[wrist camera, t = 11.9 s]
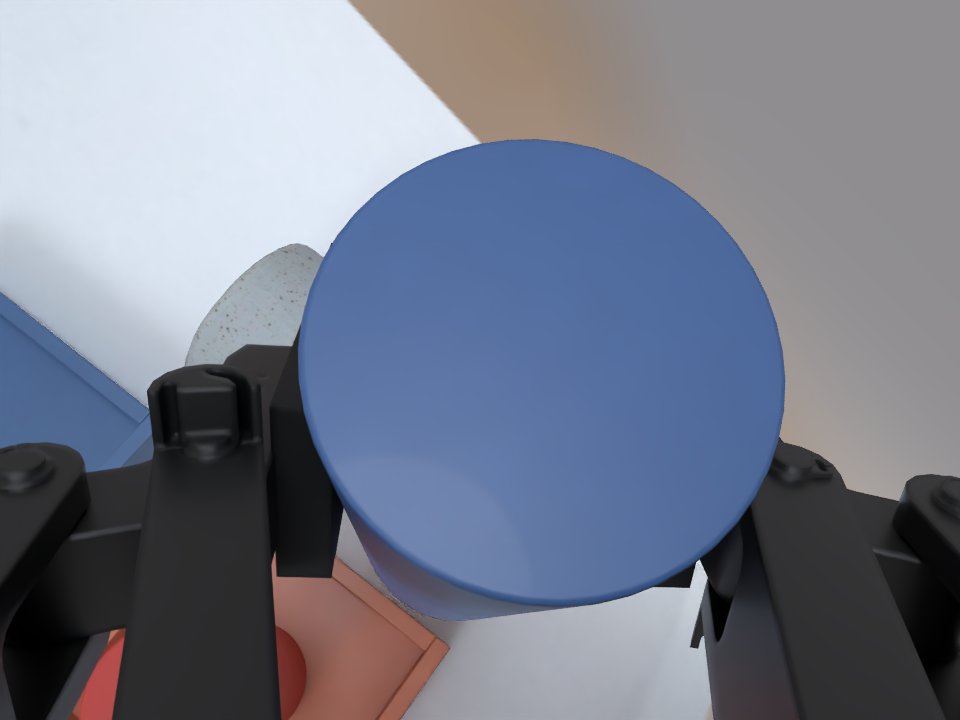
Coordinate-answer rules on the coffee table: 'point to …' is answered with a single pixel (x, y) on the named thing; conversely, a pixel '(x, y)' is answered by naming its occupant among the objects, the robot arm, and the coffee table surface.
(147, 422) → the blue tray
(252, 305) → the ceramic mug
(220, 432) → the robot arm
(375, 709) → the orange tray
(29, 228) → the coffee table surface
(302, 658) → the red peg
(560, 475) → the blue peg
